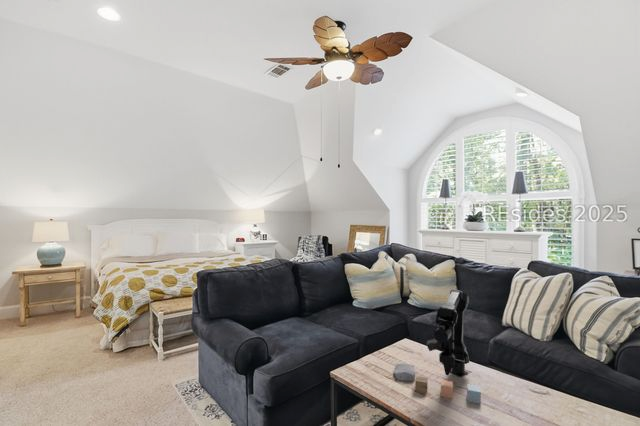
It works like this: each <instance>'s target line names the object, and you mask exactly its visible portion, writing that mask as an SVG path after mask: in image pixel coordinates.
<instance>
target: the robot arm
mask: <svg viewBox="0 0 640 426" xmlns="http://www.w3.org/2000/svg"><path fill="white" fill-rule="evenodd" d="M469 304H470V296H469V295H468V294H467V293H465V292H463V291H462V290H459V289H451V290H450V292H449V295H448V297H447V299H446V302H445V303H442V304H441V305H440V306H439V308H437V312H436V318H435V323H434V324H437V325H438V328H437V329H435V331H434V333H433V337H434V338H433V339H429V340H427V341H426V346H427V349H428V351H429V352H432V351H435V350H436V351H437V350H439V352H440V353H439V355H438V357H439V359H438V360H439V362H440V363H441V364H442V365H443V368H444V373H445V376H449V375H450V373H452V374H454V375H456V376H458V377H463V376H465V375H467V374H468V371H467V370H466V365H467V364H469V363H470V357H469V353H468V351H467V346H466V344H465V342H464V324H465V323H464V322H465V320H464V318H465V311H466V309H467V308H468V306H469Z"/></svg>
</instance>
